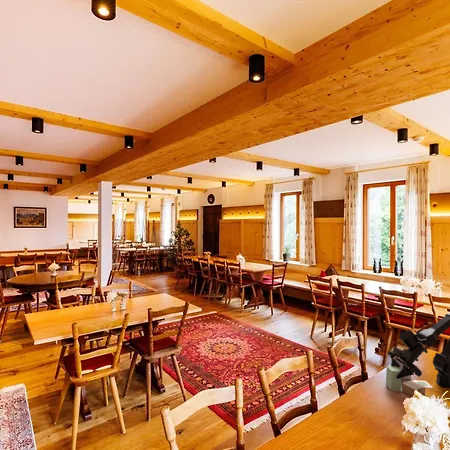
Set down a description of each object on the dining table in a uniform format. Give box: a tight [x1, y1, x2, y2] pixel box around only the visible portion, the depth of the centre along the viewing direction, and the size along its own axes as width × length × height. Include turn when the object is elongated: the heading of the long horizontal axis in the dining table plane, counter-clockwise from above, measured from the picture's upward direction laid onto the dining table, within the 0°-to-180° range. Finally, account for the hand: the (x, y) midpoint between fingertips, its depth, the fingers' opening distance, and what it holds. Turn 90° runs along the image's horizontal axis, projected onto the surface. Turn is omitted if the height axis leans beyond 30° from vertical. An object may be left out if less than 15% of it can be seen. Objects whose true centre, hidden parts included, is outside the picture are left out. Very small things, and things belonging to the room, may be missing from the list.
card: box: [411, 379, 434, 389], centre depth 163 cm, size 7×7×1 cm
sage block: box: [385, 365, 402, 392], centre depth 159 cm, size 5×5×10 cm
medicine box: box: [399, 363, 412, 380], centre depth 171 cm, size 8×4×9 cm, turn 84°
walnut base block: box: [401, 380, 426, 397], centre depth 155 cm, size 7×7×4 cm
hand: (392, 375), depth 158 cm, fingers closed on sage block, 5 cm apart
